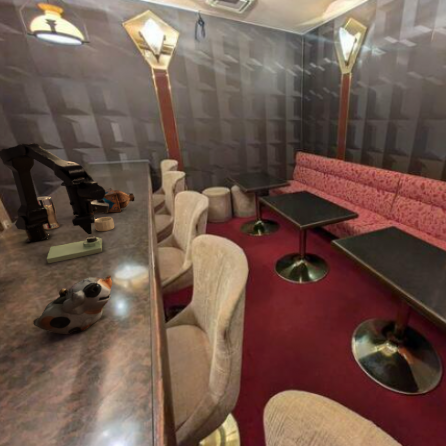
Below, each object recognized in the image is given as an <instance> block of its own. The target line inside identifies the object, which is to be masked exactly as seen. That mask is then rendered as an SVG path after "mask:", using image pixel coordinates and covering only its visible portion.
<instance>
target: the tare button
mask: <svg viewBox="0 0 446 446" xmlns="http://www.w3.org/2000/svg"><path fill="white" fill-rule="evenodd" d="M96 238H97V237H96V235H91V236H88V237H86V240H87V242H88V243H90V242H95V241H97V239H96Z"/></svg>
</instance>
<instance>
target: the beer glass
mask: <svg viewBox="0 0 446 446" xmlns="http://www.w3.org/2000/svg"><path fill="white" fill-rule="evenodd" d="M37 200H38V204H39V205H40V206H42V207H43V208H46V209H47V214H48V223H47V224H43V226H44V229H45V231H47V230H49V231H50V230H54V229H58V228H59V227H61V224H60V223H59V222H58V220H57V214H56V213H57V212H56V207H55V203H54V202H53V199H52V197H51V196H45V195H44V196H37Z"/></svg>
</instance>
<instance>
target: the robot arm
mask: <svg viewBox="0 0 446 446" xmlns="http://www.w3.org/2000/svg"><path fill="white" fill-rule="evenodd" d="M0 160H1V161H2V163H3V165H5V167H7V168H8V169H9V170H10V171H11V173H12V177H13V180H14V183H15V187H16V191H17V194H18V197H19V198H18V199H19V202H20V205H19V208H18V210H17V218H16V221H15V223H14V226H15V227H16V229H17V230H21V231H25V233H26V236H27V240H26V243H27V244H29V243H34V242H40V241H46V240H49V236H50V233H47V232H46V230H45V229H44V226H43V224H47V223H48V214H47V209H46V208H43V207H42V206H40V205H39V204H38V200H37V197H38V196H37V191H36V187H35V184H34V181H33V176H32V173H31V171H32V169H33V167H34V166H35V161H37V162H38V163H40V164H42V165H43V166H45V167H47V168H49V169H50V170H51V171H53V175H54V176H56V178H58V179H59V180H61V181H62V182H61V183H60V186H61V187H65V190H66V194H67V197H68V200H69V205H70V206H71V209H72V214H73V215H72V216H73V217H72V220H71V223H72V225H73V227H80V229H82V230H83V231H84V232H85V233H86V234H87V235H92V232H93V231H92V230H93V229H92V224H94V223H95V219H96V215H95V213H94V212H103V213H102V214H108V213H109V212H108V209H109V204H107V203H105V201H104V200H103V198H104V196H105V190H106V189H105V187H103V186H101V185H99V183H98V181H94V178H93V177H92V176H91V175H90V174H89V173H88V171H86V169H85V168H84V167H83V166H82V165H81V164H79V163H77V162H74V161H69V160H64V159H62V158H60V157H59V156H57V155H55V154H53V153H51V152H50V151H48V150H46V149H44V148H43V147H41V146H40V145H39V144H38V143H35V142H25V143H20V144H17V145H15V146H10V147H5V148H1V150H0ZM91 199H92V200H94V201H91ZM97 200H98V201H97ZM90 213H94V214H93V215H92V214H90Z"/></svg>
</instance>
